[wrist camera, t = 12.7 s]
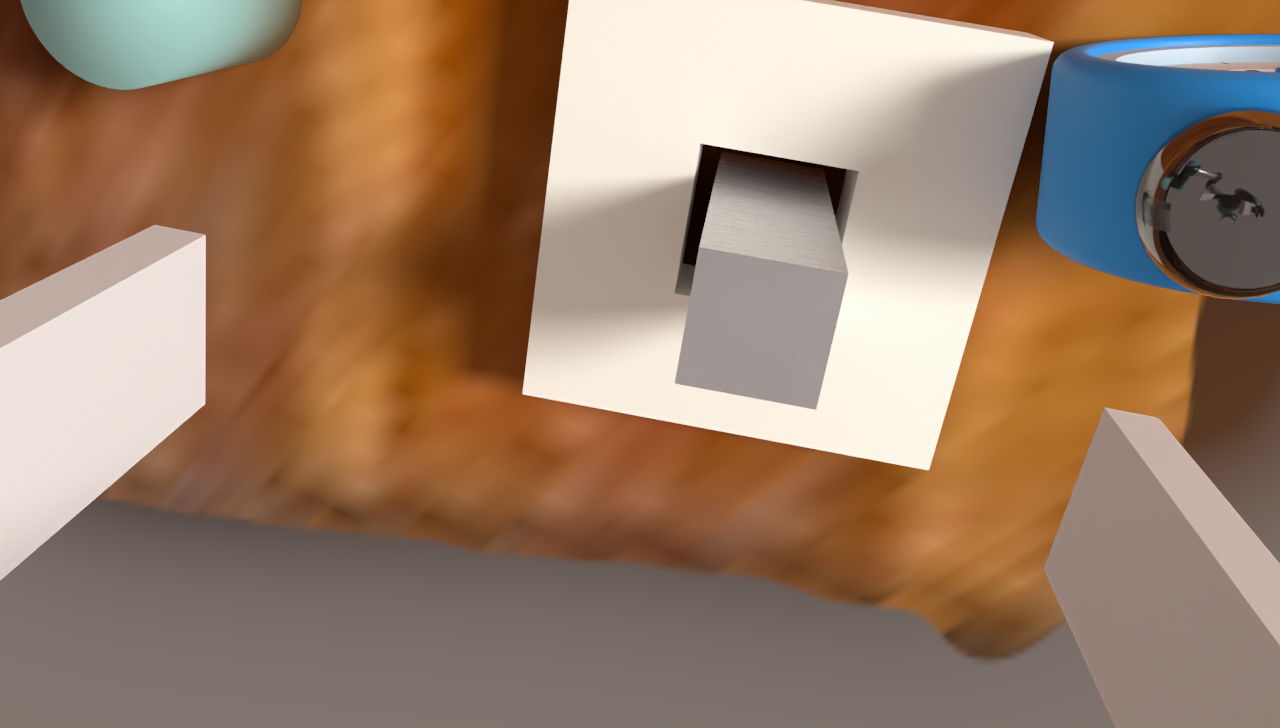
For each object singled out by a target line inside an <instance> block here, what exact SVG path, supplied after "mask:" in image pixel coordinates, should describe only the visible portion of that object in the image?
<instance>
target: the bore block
mask: <svg viewBox="0 0 1280 728" xmlns="http://www.w3.org/2000/svg"><path fill="white" fill-rule="evenodd" d="M1053 44H1054V42H1052V41H1049V40H1046V39H1043V38H1041V37H1038V36H1035V35H1032V34H1029V33H1026V32H1020V31H1014V30H1008V29H1002V28H996V27H990V26H984V25H978V24H972V23H966V22H960V21H954V20H948V19H942V18H936V17H930V16H924V15H918V14H912V13H906V12H900V11H894V10H888V9H882V8H876V7H870V6H864V5H858V4H852V3H846V2H840V1H834V0H569V5H568V13H567V21H566V30H565V38H564V47H563V55H562V64H561V72H560V81H559V89H558V97H557V106H556V114H555V123H554V131H553V140H552V148H551V156H550V165H549V173H548V182H547V190H546V199H545V207H544V216H543V224H542V232H541V241H540V249H539V258H538V266H537V275H536V283H535V291H534V300H533V308H532V317H531V325H530V334H529V342H528V351H527V359H526V367H525V376H524V384H523V393H522V394H524V395H529V396H535V397H540V398H545V399H551V400H556V401H561V402H567V403H572V404H577V405H583V406H588V407H593V408H599V409H604V410H609V411H615V412H620V413H625V414H631V415H636V416H641V417H647V418H652V419H657V420H663V421H668V422H673V423H679V424H684V425H689V426H695V427H700V428H705V429H711V430H716V431H721V432H727V433H732V434H737V435H743V436H748V437H753V438H759V439H764V440H769V441H775V442H780V443H785V444H791V445H796V446H801V447H807V448H812V449H817V450H823V451H828V452H834V453H839V454H844V455H850V456H855V457H860V458H866V459H871V460H876V461H882V462H887V463H892V464H898V465H903V466H908V467H914V468H919V469H924V470H929V468H930V465H931V461H932V458H933V454H934V451H935V448H936V444H937V441H938V437H939V434H940V431H941V427H942V424H943V420H944V417H945V413H946V410H947V407H948V403H949V400H950V396H951V393H952V389H953V386H954V383H955V379H956V376H957V372H958V369H959V365H960V362H961V359H962V355H963V352H964V348H965V345H966V342H967V338H968V335H969V331H970V328H971V324H972V321H973V318H974V314H975V311H976V307H977V304H978V300H979V297H980V294H981V290H982V287H983V283H984V280H985V277H986V273H987V270H988V266H989V263H990V259H991V256H992V253H993V249H994V246H995V242H996V239H997V235H998V232H999V229H1000V225H1001V222H1002V218H1003V215H1004V211H1005V208H1006V205H1007V201H1008V198H1009V194H1010V191H1011V188H1012V184H1013V181H1014V177H1015V174H1016V170H1017V167H1018V164H1019V160H1020V157H1021V153H1022V150H1023V146H1024V143H1025V140H1026V136H1027V133H1028V129H1029V126H1030V122H1031V119H1032V116H1033V112H1034V109H1035V105H1036V102H1037V99H1038V95H1039V92H1040V88H1041V85H1042V81H1043V78H1044V75H1045V71H1046V68H1047V64H1048V61H1049V57H1050V54H1051V51H1052V47H1053ZM703 144H706V145H712V146H717V147H723V148H729V149H735V150H740V151H746V152H752V153H758V154H763V155H769V156H775V157H781V158H786V159H792V160H798V161H804V162H809V163H815V164H821V165H827V166H832V167H838V168H844V169H847V170H846V174H845V178H844V183H843V187H842V191H841V196H840V200H839V204H838V209H837V213H836V218H835V219H836V223H837V228H838V232H839V236H840V240H841V244H842V248H843V253H844V257H845V261H846V265H847V269H848V273H849V274H848V278H847V283H846V287H845V291H844V295H843V299H842V304H841V308H840V312H839V316H838V320H837V324H836V329H835V333H834V337H833V341H832V345H831V350H830V354H829V358H828V362H827V366H826V371H825V375H824V379H823V383H822V387H821V391H820V396H819V400H818V404H817V408H816V410H815V409H809V408H804V407H799V406H793V405H788V404H782V403H777V402H772V401H766V400H761V399H755V398H750V397H745V396H739V395H734V394H729V393H723V392H718V391H712V390H707V389H702V388H696V387H691V386H685V385H680V384H675V378H676V373H677V367H678V362H679V356H680V350H681V345H682V339H683V334H684V328H685V323H686V317H687V311H688V306H689V300H690V295H691V289H692V284H693V278H694V272H695V267H696V265H690V264H684V263H683V258H684V253H685V247H686V241H687V235H688V230H689V224H690V218H691V212H692V207H693V201H694V195H695V190H696V184H697V178H698V172H699V167H700V161H701V155H702V149H703Z"/></svg>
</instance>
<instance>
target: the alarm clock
mask: <svg viewBox="0 0 1280 728" xmlns="http://www.w3.org/2000/svg"><path fill="white" fill-rule="evenodd" d="M1036 228H1037V231H1038V233H1039V235H1040V236H1041V238H1042V239H1043V240H1044V242H1045V243H1046V244H1048V245H1049V246H1050V247H1051V248H1053V249H1054V250H1056V251H1057V252H1059V253H1060V254H1062V255H1063V256H1065V257H1067V258H1069V259H1071V260H1073V261H1075V262H1078V263H1080V264H1082V265H1084V266H1087V267H1090V268H1093V269H1095V270H1098V271H1101V272H1104V273H1107V274H1111V275H1114V276H1117V277H1121V278H1125V279H1128V280H1132V281H1136V282H1140V283H1144V284H1149V285H1153V286H1158V287H1163V288H1168V289H1172V290H1178V291H1183V292H1189V293H1195V294H1201V295H1207V296H1212V297H1216V298H1225V299H1237V300H1245V301H1255V302H1265V303H1276V304H1280V34H1219V35H1185V36H1163V37H1146V38H1133V39H1122V40H1112V41H1104V42H1098V43H1092V44H1086V45H1081V46H1077V47H1073V48H1071V49H1068V50H1067V51H1065V52H1063V53H1062V54H1061V55H1059V57H1058V58H1057V59H1056V60H1055V62H1054V65H1053V68H1052V75H1051V84H1050V93H1049V103H1048V112H1047V121H1046V131H1045V140H1044V149H1043V159H1042V168H1041V177H1040V187H1039V196H1038V205H1037V215H1036Z"/></svg>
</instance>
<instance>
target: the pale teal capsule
mask: <svg viewBox="0 0 1280 728" xmlns="http://www.w3.org/2000/svg"><path fill="white" fill-rule="evenodd" d="M20 1H21V4H22V7H23V10H24V13H25V15H26V18H27V20H28V22H29V24H30V26H31V28H32V29H33V31H34V33H35V34H36V36H37V37H38V39H39V40H40V42H41V43H42V44H43V46H44V47H45V48H46V50H47V51H48V52H49V53H50V54H51V55H52V56H53V57H54V58H55V59H56V60H57V61H58V62H59V63H61V64H62V65H63V66H64V67H65V68H66V69H68V70H69V71H71V72H72V73H74V74H75V75H77V76H79V77H81V78H82V79H84V80H86V81H88V82H91V83H94V84H96V85H99V86H103V87H107V88H111V89H120V90H127V89H138V88H143V87H148V86H152V85H156V84H161V83H165V82H169V81H174V80H178V79H182V78H187V77H191V76H195V75H200V74H204V73H208V72H213V71H217V70H221V69H226V68H230V67H234V66H239V65H243V64H248V63H252V62H256V61H259V60H262V59H264V58H266V57H268V56H270V55H272V54H273V53H274V52H276V51H277V50H278V49H280V48H281V47H282V46H283V45H284V44H285V43H286V41H287V40H288V38H289V37H290V36H291V34H292V32H293V30H294V28H295V26H296V24H297V21H298V18H299V15H300V10H301V3H302V0H20Z"/></svg>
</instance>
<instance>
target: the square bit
mask: <svg viewBox="0 0 1280 728" xmlns="http://www.w3.org/2000/svg"><path fill="white" fill-rule="evenodd" d="M848 274H849V273H848V269H847V265H846V261H845V257H844V253H843V248H842V244H841V240H840V236H839V232H838V228H837V223H836V219H835V215H834V211H833V207H832V203H831V199H830V194H829V190H828V186H827V182H826V178H825V174H824V169H820V168H814V167H808V166H802V165H797V164H791V163H785V162H779V161H774V160H768V159H762V158H757V157H751V156H745V155H739V154H734V153H728V152H722V151H721V155H720V159H719V164H718V168H717V172H716V177H715V181H714V185H713V189H712V194H711V198H710V202H709V207H708V211H707V215H706V219H705V224H704V228H703V232H702V237H701V241H700V245H699V250H698V256H697V261H696V267H695V272H694V278H693V284H692V289H691V295H690V300H689V306H688V311H687V317H686V323H685V328H684V334H683V339H682V345H681V350H680V356H679V362H678V367H677V373H676V378H675V384H680V385H685V386H691V387H696V388H702V389H707V390H712V391H718V392H723V393H729V394H734V395H739V396H745V397H750V398H755V399H761V400H766V401H772V402H777V403H782V404H788V405H793V406H799V407H804V408H809V409H815V410H816V408H817V404H818V400H819V396H820V391H821V387H822V383H823V379H824V375H825V371H826V366H827V362H828V358H829V354H830V350H831V345H832V341H833V337H834V333H835V329H836V324H837V320H838V316H839V312H840V308H841V304H842V299H843V295H844V291H845V287H846V283H847V278H848Z"/></svg>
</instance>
